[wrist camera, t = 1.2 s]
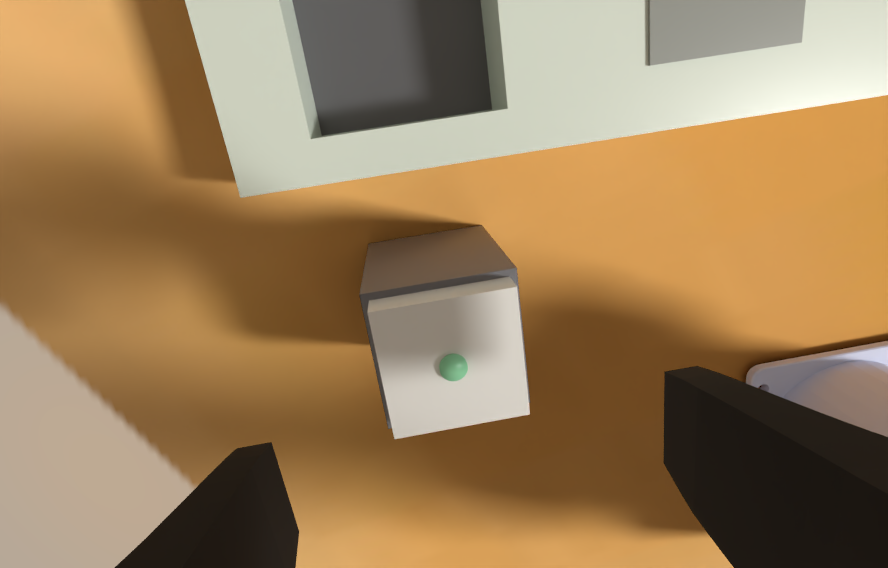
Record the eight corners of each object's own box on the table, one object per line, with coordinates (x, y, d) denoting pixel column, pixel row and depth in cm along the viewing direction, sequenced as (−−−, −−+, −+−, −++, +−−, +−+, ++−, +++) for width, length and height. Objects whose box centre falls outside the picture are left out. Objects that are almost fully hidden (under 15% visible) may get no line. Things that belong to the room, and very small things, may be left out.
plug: (493, 327, 19) (539, 422, 13) (389, 345, 19) (388, 450, 13) (481, 224, 17) (526, 279, 12) (368, 243, 17) (357, 308, 11)
